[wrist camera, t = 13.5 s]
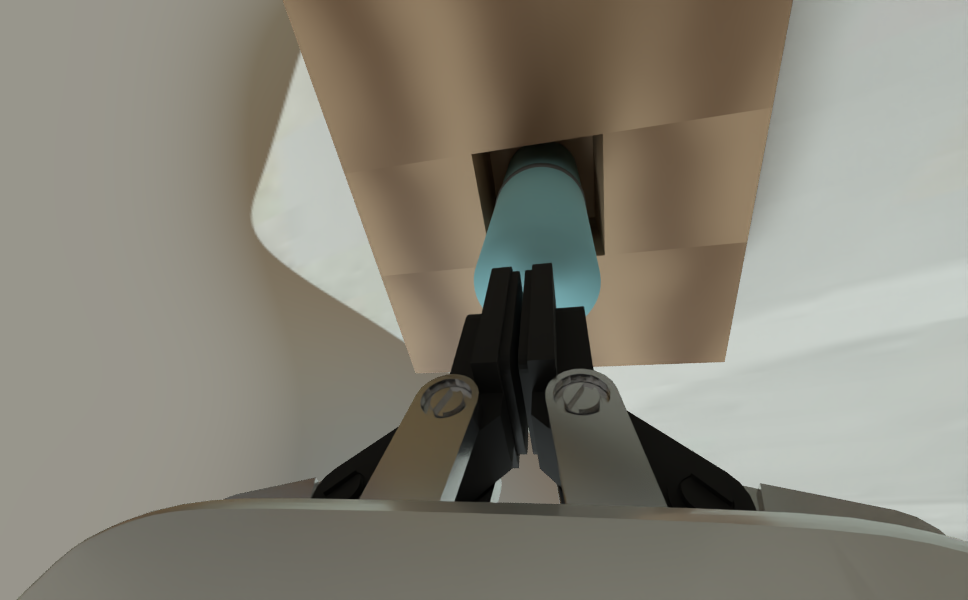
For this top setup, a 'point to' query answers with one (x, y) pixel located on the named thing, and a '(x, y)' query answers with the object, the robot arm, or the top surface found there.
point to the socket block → (568, 121)
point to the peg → (542, 226)
